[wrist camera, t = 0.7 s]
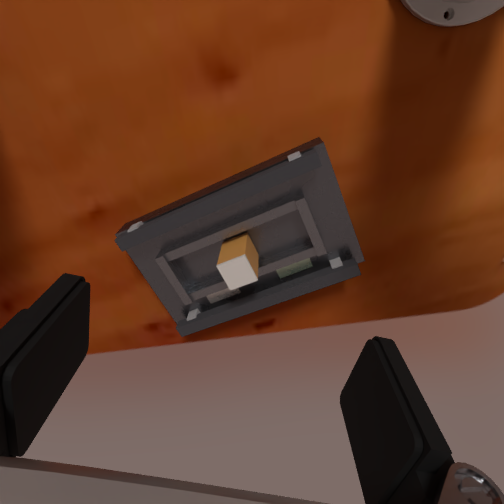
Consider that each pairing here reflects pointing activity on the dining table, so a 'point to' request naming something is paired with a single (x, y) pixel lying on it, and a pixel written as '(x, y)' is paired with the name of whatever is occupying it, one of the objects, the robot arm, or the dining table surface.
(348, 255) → the panel
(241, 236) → the block
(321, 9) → the dining table surface
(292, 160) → the pair of grey rails
